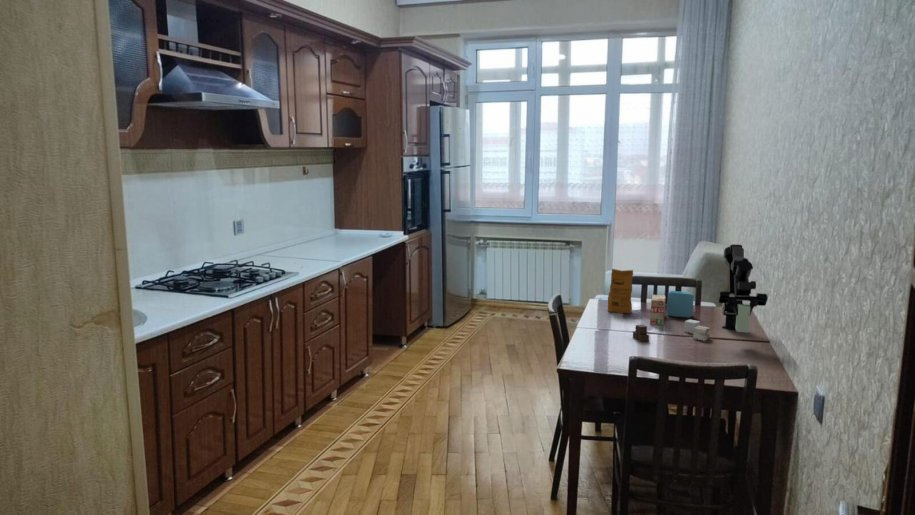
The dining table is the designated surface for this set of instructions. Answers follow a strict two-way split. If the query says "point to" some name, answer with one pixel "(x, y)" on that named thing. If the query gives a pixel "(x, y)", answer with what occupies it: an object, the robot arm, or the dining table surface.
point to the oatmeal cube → (701, 333)
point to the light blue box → (680, 304)
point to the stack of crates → (641, 333)
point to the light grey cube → (691, 325)
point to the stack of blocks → (657, 310)
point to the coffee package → (620, 291)
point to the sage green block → (742, 318)
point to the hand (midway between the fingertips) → (743, 315)
